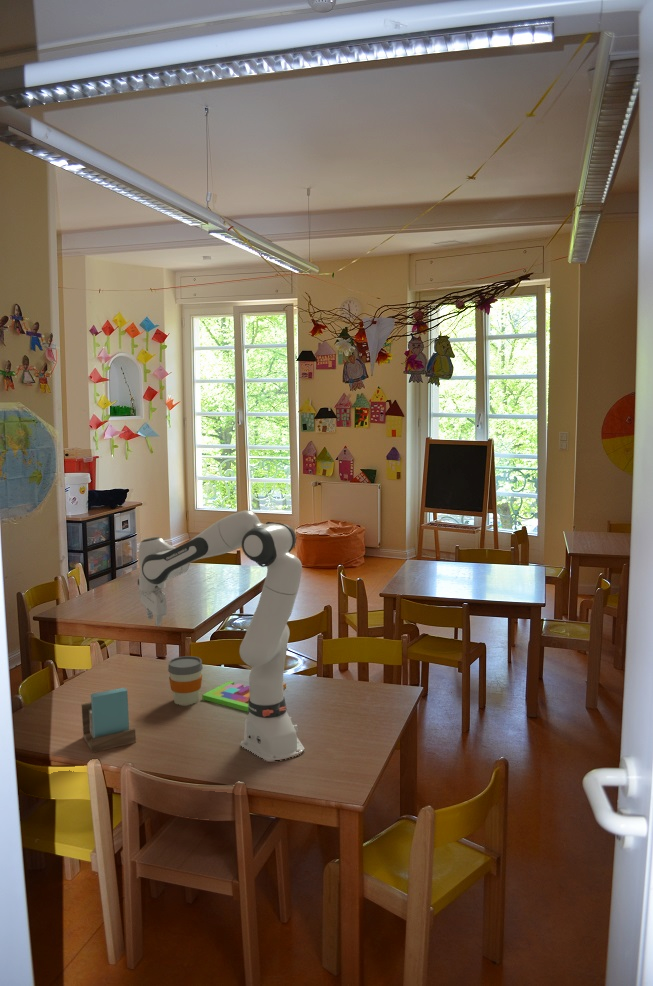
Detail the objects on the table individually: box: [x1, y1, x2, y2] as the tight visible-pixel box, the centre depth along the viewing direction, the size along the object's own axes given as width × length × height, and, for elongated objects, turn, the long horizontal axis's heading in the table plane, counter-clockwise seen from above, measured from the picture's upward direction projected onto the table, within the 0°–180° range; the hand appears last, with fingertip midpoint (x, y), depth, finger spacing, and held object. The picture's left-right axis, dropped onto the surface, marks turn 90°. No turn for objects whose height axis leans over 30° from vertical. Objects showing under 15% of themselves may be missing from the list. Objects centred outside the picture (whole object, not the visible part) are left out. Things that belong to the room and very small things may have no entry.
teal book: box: [90, 687, 130, 738], centre depth 251 cm, size 3×11×16 cm, turn 120°
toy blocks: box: [202, 680, 287, 713], centre depth 292 cm, size 23×2×25 cm
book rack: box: [81, 701, 137, 754], centre depth 255 cm, size 13×14×12 cm
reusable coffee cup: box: [167, 655, 203, 706], centre depth 286 cm, size 13×13×15 cm
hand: (154, 622), depth 270 cm, fingers open, 8 cm apart
